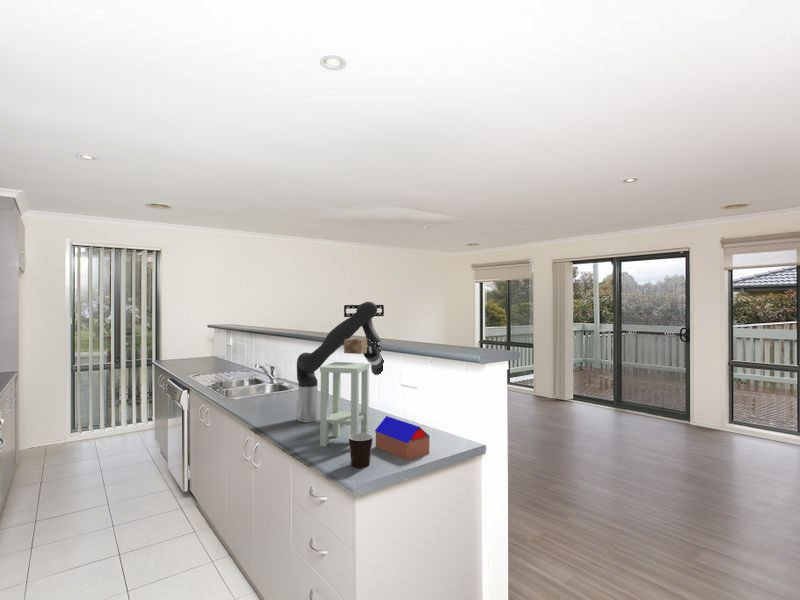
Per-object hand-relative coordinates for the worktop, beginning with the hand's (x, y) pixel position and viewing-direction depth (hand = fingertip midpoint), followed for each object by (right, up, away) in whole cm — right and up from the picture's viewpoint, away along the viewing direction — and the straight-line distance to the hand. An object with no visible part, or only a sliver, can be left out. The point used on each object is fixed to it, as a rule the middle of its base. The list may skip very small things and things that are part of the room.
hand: (363, 340), depth 202 cm
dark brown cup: (+4, -40, -48) cm, 62 cm away
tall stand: (-6, -40, -24) cm, 47 cm away
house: (+18, -41, -33) cm, 55 cm away
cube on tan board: (-1, -4, -4) cm, 6 cm away
